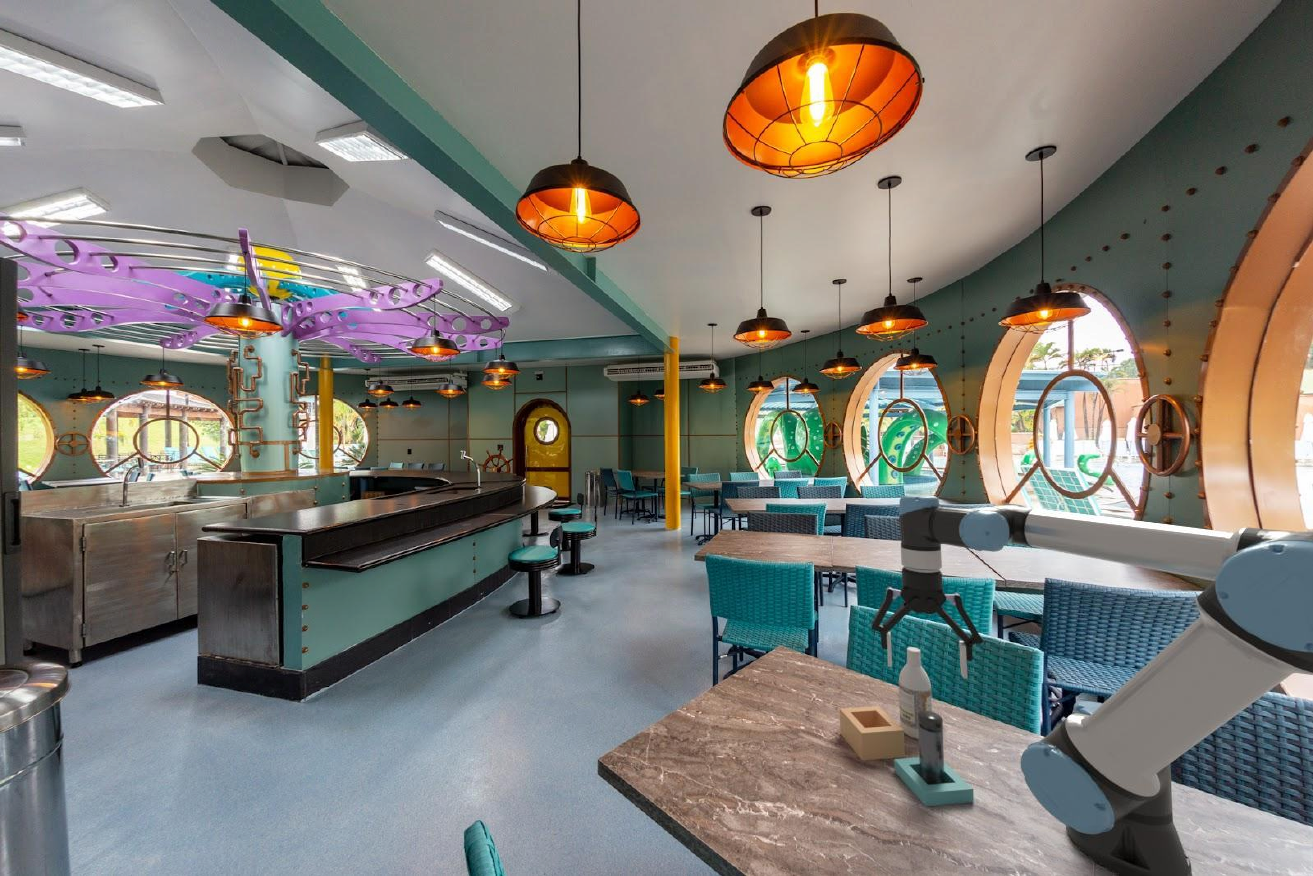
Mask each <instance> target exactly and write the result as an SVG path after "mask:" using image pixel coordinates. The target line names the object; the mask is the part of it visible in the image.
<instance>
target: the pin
mask: <svg viewBox="0 0 1313 876" xmlns="http://www.w3.org/2000/svg"><path fill="white" fill-rule="evenodd" d="M943 725H944V723H943V718H942V716H941V715H939V714H938V713H936V712H933V711H932V712H930V711H920V712H918V736H919V739H918V757H919V767H920V777H921V778H922V779H923V780H924V781H925V782H926V783H927V784H928V785H933V784H945V779H944V762H945V756H944V754H945V753H944V730H943V729H944V727H943Z"/></svg>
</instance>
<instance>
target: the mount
mask: <svg viewBox="0 0 1313 876" xmlns="http://www.w3.org/2000/svg"><path fill="white" fill-rule="evenodd" d="M893 762H894V763H893V765H894V772H895V774H897V776H898V777H899V778H900V779H901V780H902V781H903V783H905V784H906V786H907V787H908V788H909V789H910V790H911V791H912V793H913V794H915V796H916V797H917V798H918V799H919V801H920V802H921V803H922V804H923V805H924V806H925V807H931V806H932V807H933V806H934V807H935V806H944V805H953V804H954V805H956V804H964V803H965V804H966V803H967V804H968V803H974V802H975V801H974V797H975V796H974V788H973V787H972V786H971V785H970V784H969V783H967V782H966V780H965V779H963V778H962V777H961V776H960V775H959V774H958V773H957V772H956V771H955V770H953V768H951V767H950V765H948V763H946V762H945V761H944V779H945V784H933V785H928V784H927V783H926V782H925V781H924V780H923V779H922V778H921V777H920V767H919V756H917V757H906V758H905V757H902V758H893Z"/></svg>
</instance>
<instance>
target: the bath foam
mask: <svg viewBox="0 0 1313 876" xmlns="http://www.w3.org/2000/svg"><path fill="white" fill-rule="evenodd" d="M921 658H922V655H921V649H919V648H918V647H913V646H908V647H906V661H907V662H906V664H905V665H904V666H903V668H902V669H901V671H900V672H899V676H898V702H899V723H900V724H899V726H900V727H901V728H902V729H903V730H904V735H907V736H908V737H910V738H913V739H915V740H916V739H917V740H919V736H918V712H920V711H930V712H933V705H932V701H933V700H932V685H931V680H930V678H929V676H928V674H927V672H926V670H925V669H924V667H923V666H922V664H921V663H922V661H921Z"/></svg>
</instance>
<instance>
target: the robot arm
mask: <svg viewBox="0 0 1313 876" xmlns="http://www.w3.org/2000/svg"><path fill="white" fill-rule="evenodd" d="M898 507H899V508H898V509H899V510H898V511H899V513H898V519H899V533H900V540H901V541H900V558H901V559H900V561H901V563H900V564H901V565H902V568H901V580H902V581H901V582H902V583H901V585H902V587H901V589H896V588H893V587H892V586H887V587H886V594H885V597H884V599H883V601H882V603H881V605H880V606H879V608H878V610H877V612H876V614H875V615H874V618H873V619H872V621H871V629H872V631H875V632H878V633H879V634H880V645H881V649H882V650H883V649H884V650H886V651H887V655H886V656H887V667H892V668H893V660H892V656H893V655H892V635H891V630H892V629H893V628H894V627H895V626H896V625H897V624H898V623H899V622H900V621H901V620H902V619H903V618H904V617H905V616H906V615H908V614H909V613H910V612H911V611H913V612H915V614H927V615H933V614H934V615H935V614H936V613H937V615H938V616H939V617H940V618H941V619H942V620H943V621H944V622H945V623H946V624H947V625H948V626H949V627H950V628H951V629H952V631H954V632H955V634H956V635H957V636H958V637H959V639H961V640H958V643H959V644H958V645H959V665H960V674H961V676H962V677H961V678H963V679H966V680H967V679H968V665H967V663H968V662H972V661H973V657H974V656H973V646H974V645H975V644H979V645H980V644H983V642H984V641H983V638H982V636H981V635H980V633H979V631H978V630H977V628H976V627H975V625H974V623H973V621H972V620H971V618H970V617H969V615H968V613H967V612H966V609H965V608H964V606H963V601H962V597H961V596H960V594H959V593H958V592H955V591H954V592H953V593H951V594H949V593H944V587H943V586H944V585H943V583H944V581H943V572H942V571H941V569H942V568H943V564H942V563H943V562H942V561H943V560H942V558H943V557H942V545H948V546H952V547H953V546H954V547H960V548H966V549H970V550H974V551H977V552H982V551H983V552H994V553H995V552H999V551H1001V550H1003V548H1004V546H1006V545H1007V544H1015V545H1020V546H1025V547H1032V548H1038V549H1043V550H1049V551H1053V552H1059V553H1064V554H1070V555H1075V556H1080V557H1086V558H1092V559H1095V560H1102V561H1108V562H1112V563H1117V564H1121V565H1126V566H1127V565H1130V566H1134V567H1139V568H1145V569H1149V570H1153V571H1155V570H1156V571H1160V572H1164V573H1170V574H1175V575H1181V576H1186V577H1187V576H1188V577H1191V578H1197V579H1202V580H1208V581H1212V582H1211V584H1209V585H1208V587H1206V588H1205V589H1204V590H1203V591H1202V592H1201V593H1200V594H1199V595H1198V596H1197V597H1195V604H1196V606H1197V610H1198V612H1199V617H1198V618H1197V619H1195V620H1194V622H1193V623H1191V624H1190V625H1189V626H1188V627H1187V628H1185V629H1184V630H1183V632H1181V633H1180V634H1179V635H1178V636H1176V638H1175V639H1173V640H1172V641H1171V642H1170V643H1168V645H1167V646H1165V648H1163V649H1162V650H1160V652H1158V654H1157V655H1155V656H1154V657H1153V658H1152V659H1151V660H1150V661H1149V662H1147V664H1145V665H1144V667H1142V668H1141V669H1140V670H1139V671H1137V673H1135V674H1134V675H1133V676H1132V677H1131V678H1130V679H1129V680H1127V682H1126V683H1124V684H1122V686H1121V687H1120V688H1119V689H1118V690H1116V691H1115V692H1114V693H1113V694H1111V696H1110V697H1109V698H1108V699H1106V700H1105V701H1104V702H1103V703H1102V702H1097V701H1088V700H1083V701H1082V700H1080V701H1077V702H1075V703H1074V705H1073V711H1072V713H1071V714H1070V715H1068V716H1067V717H1066V718H1065V719H1064V720H1062V721H1061V722H1060V723H1059V724H1058V725H1057V726H1056V727H1055V728H1053V730H1051V732H1049V733H1048V734H1047V735H1046V736H1045V737H1043V738H1041V739H1040V740H1038V741H1036V742H1032V743H1030V744H1029V745H1027V748H1026V749H1024V751H1023V752H1022V754H1021V757H1020V770H1021V772H1022V775H1023V776H1024V781H1025V783H1026V785H1027V787H1028V789H1029V790H1030V792H1031V794H1032V795H1033V796H1034V798H1035V799H1036V801H1038V803H1039V805H1041V806H1042V807H1043V808H1044V809H1045V810H1046V811H1047V812H1048V813H1049V814H1050V815H1051V816H1052V817H1054V819H1056V820H1057V821H1058V822H1060V823H1061V824H1063V825H1065V829H1066V833H1067V834H1068V836H1069V839H1070V840H1071V841H1072V842H1073V843H1074V844H1075V846H1076V847H1078V849H1079V848H1080V849H1079V850H1081V852H1083V853H1084V855H1086V856H1087V855H1088V856H1087V857H1088V858H1090V859H1091V858H1092V859H1091V860H1093V861H1094V862H1095V861H1096V863H1097V862H1098V863H1099V865H1100V866H1101V865H1103V866H1104V868H1105V869H1106V868H1107V869H1106V870H1108V871H1110V872H1111V873H1113V874H1115V875H1117V876H1119V875H1120V876H1193V873H1192V863H1191V860H1190V858H1189V855H1188V854H1187V851H1186V850H1185V849H1184V847H1183V844H1182V842H1181V839H1180V836H1179V833H1178V830H1177V828H1176V825H1175V824H1174V817H1173V794H1172V791H1173V790H1172V772H1171V769H1172V768H1171V763H1173V762H1174V761H1175V760H1177V759H1178V758H1179V757H1181V756H1182V755H1183V754H1185V753H1186V752H1188V751H1189V750H1190V749H1192V748H1193V747H1195V746H1196V745H1198V744H1199V743H1200V742H1202V741H1203V740H1204V739H1205V738H1206V737H1208V736H1210V735H1211V734H1212V733H1214V732H1216V730H1218V729H1219V728H1220V727H1222V726H1223V725H1225V724H1226V723H1227V722H1228V721H1230V720H1231V719H1233V718H1235V716H1237V715H1238V714H1240V713H1241V712H1242V711H1244V710H1245V709H1246V708H1248V707H1249V706H1250V705H1252V704H1253V703H1254V702H1256V701H1257V700H1258V699H1260V698H1261V697H1263V696H1265V694H1267V693H1268V692H1270V691H1271V690H1273V689H1274V688H1275V687H1276V686H1278V685H1279V684H1280V683H1282V682H1283V681H1284V680H1286V679H1288V678H1289V677H1291V675H1293V674H1302V675H1307V676H1308V675H1309V676H1313V531H1294V530H1293V531H1292V530H1277V529H1267V528H1266V529H1265V528H1257V527H1256V528H1255V527H1248V526H1247V527H1246V526H1245V527H1241V528H1240V529H1238V530H1236V531H1234V532H1229V531H1222V530H1213V529H1205V528H1197V527H1189V526H1181V525H1173V524H1164V523H1155V522H1147V521H1139V520H1131V519H1123V518H1116V517H1115V518H1114V517H1107V516H1099V515H1089V514H1084V513H1082V514H1081V513H1074V512H1065V511H1057V510H1049V509H1041V508H1032V507H1028V506H1026V505H1024V504H1019V503H1018V504H1017V503H1004V504H1000V505H998V504H997V505H991V506H982V507H974V508H973V507H971V508H962V507H961V508H959V507H946V506H941V504H940V501H939V498H938V496H935V495H927V494H907V495H903V496H901V497H900V499H899V506H898ZM898 597H900V598H901V599H902V600H903V601H904V602H903V603H902V604H901V605H900V607H899V608H898V609H897V610H896V611H895V612H894V613H893V614H892V615H891V616H890V617H888V619H887V620H886V621H885V622H884V623H883V624H882V622H883V620H884V618H885V616H886V615H887V612H888V611H889V609H890V607H891V605H892V603H893V600H896V599H897V598H898ZM946 601H948V602H949V603H950V605H952V606H955V609H956V610H957V612H958V613H959V615H960V617H961V618H962V620H963V622H964V623H965V625H966V627H967V628H968V631H969V632H970V634H971V635H968V633H966V632H965V631H964V630H963V628H962V627H961V626H960V625H959V624H958V623H957V622H956V621H955V620H954V619H953V618H952V617H951V615H950V614H949V612H947V611H946V610H945V609H944V607H942V606H943V605H944V604H945V603H946ZM967 661H968V662H967ZM1098 863H1097V864H1098ZM1103 866H1102V867H1103Z"/></svg>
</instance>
